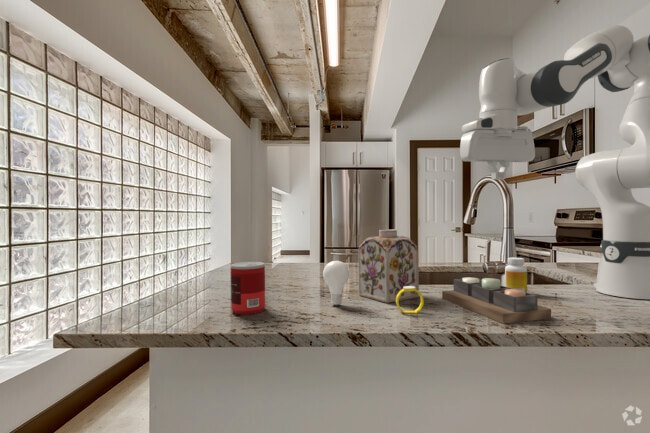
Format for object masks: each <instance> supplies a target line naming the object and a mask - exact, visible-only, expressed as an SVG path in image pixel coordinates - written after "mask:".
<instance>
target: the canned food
mask: <svg viewBox="0 0 650 433" xmlns="http://www.w3.org/2000/svg"><path fill="white" fill-rule="evenodd" d="M265 266H266V265H265V263H264V262H262V261H241V262H234V263H232V264H231V265H230V297H231V298H230V300H231V302H230V303H231V306H230V307H231V311H232V313H234V314H235V315H242V316H244V315H245V316H248V315H254V314H259V313H262V312H264V310H265V309H266V308H265V307H266V269H265V268H266V267H265Z"/></svg>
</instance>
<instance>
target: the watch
mask: <svg viewBox="0 0 650 433" xmlns="http://www.w3.org/2000/svg"><path fill="white" fill-rule="evenodd" d="M405 291H416V292H417V293H418V294H419V295H418V296H419V297H420V303H419V306H418V307H416V309H414V310H403V309H402V308H401V306H400V304H399V303H400V301H399V297H400V295H401V294H402V293H403V292H405ZM424 303H425V301H424V296H423V294H422V293H421V292H420V290H419V291H418V290H416V287H414V286H404V287H403V289H402V290H400V291H399V293H398V294H397V297H396V302H395V304H396V306H397V308H398V310H399V311H400V312H402V313H403V314H418V313H420V311H422V309H423V308H424Z"/></svg>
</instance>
